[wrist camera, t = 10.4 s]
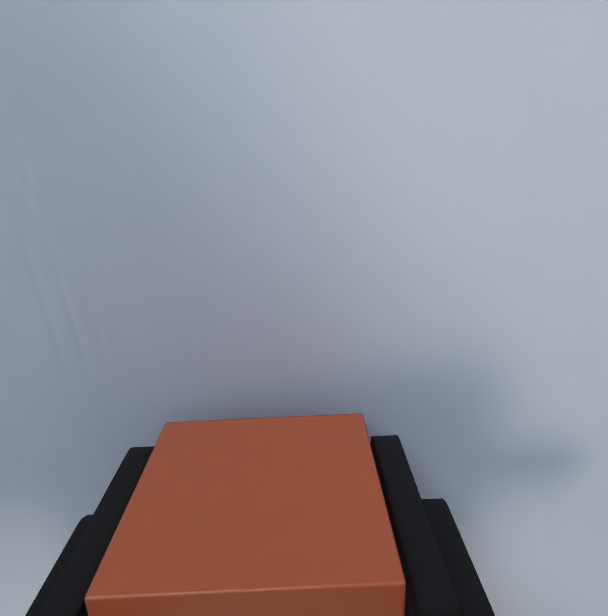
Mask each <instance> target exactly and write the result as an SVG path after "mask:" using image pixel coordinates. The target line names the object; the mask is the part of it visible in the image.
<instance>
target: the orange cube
mask: <svg viewBox="0 0 608 616" xmlns="http://www.w3.org/2000/svg"><path fill="white" fill-rule="evenodd" d="M405 592H406V581H405V578H404V574H403V570H402V566H401V562H400V558H399V554H398V550H397V546H396V543H395V539H394V535H393V531H392V527H391V523H390V519H389V515H388V511H387V508H386V504H385V500H384V496H383V492H382V488H381V484H380V480H379V477H378V473H377V469H376V465H375V461H374V457H373V453H372V449H371V445H370V442H369V438H368V434H367V430H366V426H365V422H364V418H363V415H362V414H340V415H318V416H296V417H275V418H253V419H231V420H209V421H187V422H168V423H166V424H165V426H164V428H163V430H162V432H161V434H160V437H159V439H158V441H157V443H156V445H155V447H154V449H153V452H152V454H151V456H150V458H149V460H148V462H147V464H146V467H145V469H144V471H143V473H142V475H141V477H140V479H139V482H138V484H137V486H136V488H135V490H134V492H133V495H132V497H131V499H130V501H129V503H128V505H127V507H126V510H125V512H124V514H123V516H122V518H121V520H120V522H119V525H118V527H117V529H116V531H115V533H114V535H113V537H112V540H111V542H110V544H109V546H108V548H107V550H106V553H105V555H104V557H103V559H102V561H101V563H100V565H99V568H98V570H97V572H96V574H95V576H94V578H93V580H92V583H91V585H90V587H89V589H88V591H87V593H86V595H85V604H86V608H87V612H88V616H405Z"/></svg>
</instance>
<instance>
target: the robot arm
mask: <svg viewBox="0 0 608 616" xmlns="http://www.w3.org/2000/svg"><path fill="white" fill-rule="evenodd" d="M370 445H371V449H372V453H373V457H374V461H375V465H376V469H377V473H378V477H379V480H380V484H381V488H382V492H383V496H384V500H385V504H386V508H387V511H388V515H389V519H390V523H391V527H392V531H393V535H394V539H395V543H396V546H397V550H398V554H399V558H400V562H401V566H402V570H403V574H404V578H405V581H406V592H405V616H495V615H494V612H493V610H492V608H491V605H490V603H489V601H488V598H487V596H486V594H485V591H484V589H483V587H482V584H481V582H480V580H479V577H478V575H477V573H476V570H475V568H474V566H473V563H472V561H471V559H470V556H469V554H468V552H467V549H466V547H465V545H464V542H463V540H462V538H461V535H460V533H459V531H458V528H457V526H456V524H455V521H454V519H453V517H452V514H451V512H450V510H449V507H448V505H447V503H446V502H445V500H443V499H421V498H420V495H419V492H418V489H417V486H416V484H415V481H414V478H413V475H412V473H411V470H410V467H409V464H408V461H407V459H406V456H405V453H404V450H403V448H402V445H401V442H400V439H399V437H398V436H397V435H392V436H372V437H371V443H370ZM154 447H155V446H153V447H132V448H130V449H129V451H128V452H127V454H126V456H125V458H124V459H123V461H122V463H121V465H120V467H119V469H118V470H117V472H116V474H115V476H114V478H113V480H112V481H111V483H110V485H109V487H108V489H107V491H106V492H105V494H104V496H103V498H102V500H101V502H100V503H99V505H98V507H97V509H96V511H95V512H94V514H93V515H87V516H85V517H83V518H82V519H81V521H80V522H79V523H78V525H77V527H76V528H75V530H74V532H73V534H72V535H71V537H70V539H69V541H68V542H67V544H66V546H65V548H64V549H63V551H62V553H61V554H60V556H59V558H58V560H57V561H56V563H55V565H54V567H53V568H52V570H51V572H50V574H49V575H48V577H47V579H46V581H45V582H44V584H43V586H42V588H41V589H40V591H39V593H38V595H37V596H36V598H35V600H34V601H33V603H32V605H31V607H30V608H29V610H28V612H27V614H26V615H25V616H88V612H87V608H86V604H85V595H86V593H87V591H88V589H89V587H90V585H91V583H92V580H93V578H94V576H95V574H96V572H97V570H98V568H99V565H100V563H101V561H102V559H103V557H104V555H105V553H106V550H107V548H108V546H109V544H110V542H111V540H112V537H113V535H114V533H115V531H116V529H117V527H118V525H119V522H120V520H121V518H122V516H123V514H124V512H125V510H126V507H127V505H128V503H129V501H130V499H131V497H132V495H133V492H134V490H135V488H136V486H137V484H138V482H139V479H140V477H141V475H142V473H143V471H144V469H145V467H146V464H147V462H148V460H149V458H150V456H151V454H152V452H153V449H154Z"/></svg>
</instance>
